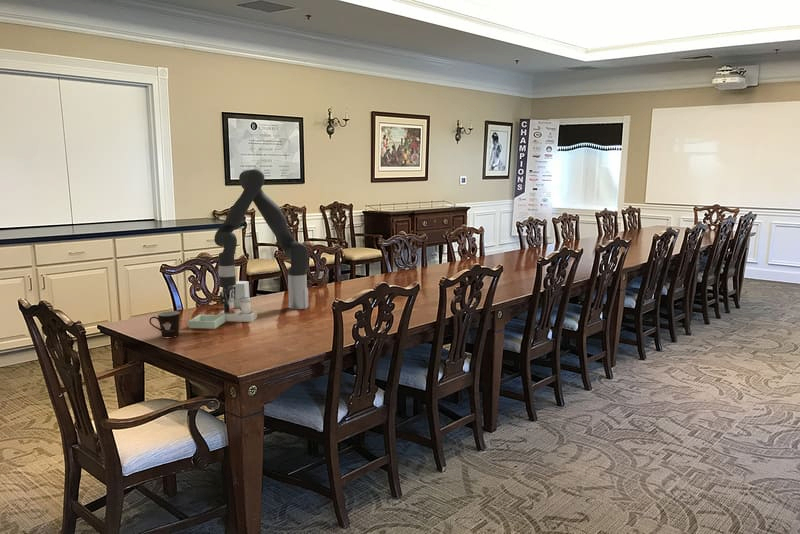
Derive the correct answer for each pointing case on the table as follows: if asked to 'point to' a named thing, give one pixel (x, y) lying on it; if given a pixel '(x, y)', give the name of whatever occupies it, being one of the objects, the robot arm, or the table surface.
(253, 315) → the fuse block
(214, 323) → the tray
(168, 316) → the coffee mug
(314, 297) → the table surface
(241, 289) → the supplement box
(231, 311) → the marked fuse
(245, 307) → the fuse
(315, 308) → the table surface
